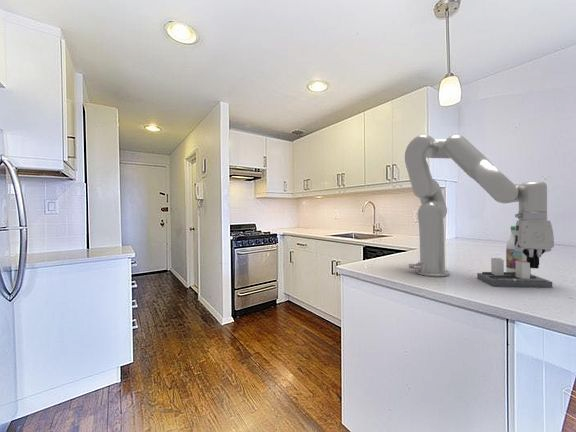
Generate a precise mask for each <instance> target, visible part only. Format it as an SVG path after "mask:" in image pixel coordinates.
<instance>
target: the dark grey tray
mask: <svg viewBox="0 0 576 432" xmlns="http://www.w3.org/2000/svg"><path fill="white" fill-rule="evenodd" d="M476 276H477V277H476V278H477V279H479V280H480V281H483V282H484V283H486V284H488V285H490V286H491V287H498V288H501V287H502V288H503V287H504V288H507V287H508V288H549V289H550V288H553V281H551V280H548V279H545V278H543V277H540V276H536V275H534V274H532V273H531V274H530V279H520V278H517V277H516V272H506V271H504V275H494V274H492V273H491V271H481V272H477V273H476Z"/></svg>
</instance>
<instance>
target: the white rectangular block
mask: <svg viewBox="0 0 576 432" xmlns="http://www.w3.org/2000/svg"><path fill="white" fill-rule="evenodd" d="M504 262H505V260H504V259H502V258H501V257H500V258H499V257H491V260H490V264H491V266H490V272H491V273H492V274H494V275H504V272H505V271H504V270H505V269H504V267H505V266H504Z"/></svg>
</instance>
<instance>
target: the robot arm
mask: <svg viewBox="0 0 576 432" xmlns="http://www.w3.org/2000/svg"><path fill="white" fill-rule="evenodd" d="M404 151H405V152H404V164H405V168H406V170H407V173H408V178H409V182H410V184H411V188H412V189H411V190H412V192H413V194H414V195H415V197H417V198H418V199H419V200H420V203H421V204H420V206H419V207H418V210H417V219H418V221H417V222H418V232H419V234H418V235H419V236H418V237H419V261H417V263H408V269H414V270H416V274H419V275H422V276H426V277H433V278H434V277H436V278H437V277H439V278H440V277H447V276H450V271H449V270H448V269H446V257H445V256H446V255H445V254H446V252H445V224H444V219H445V218H446V217H447V213H448V208H447V204H446V202H445V198H444V196H443V191H442V188H441V186H440V184H439V183H438V181H437V180H435V179H434V178H433V176H432V174H431V170H430V166H429V164H428V162H427V159H450V160H452V161H453V162H454V163H455V164H456V165H457V166H458V167H459V168H460V169H461V170H462V171H463V172H464V173H465V174H466V175H467V176H468V177H469V178H471V179H473V180H474V181H475V182H476V183H477V184H478V185H479V186H480V187H481V188H482V189H483V190H484V191H486V193H487V194H488V195H489V196H490V197H492V199H493V200H494V201H496V202H497V203H499V204H509V203H510V204H511V203H518V213H515V214H514V217H515V218H518V220H516V223H515V225H514V226H515V232H514V245H515V251H519V252H522V253H524V254H525V256H527V262H529V263H530V268H531V269H539V266H540V258H542V255H543V254H544V253H549V252H551V251H552V249H553V248H554V246H555V238H554V237H555V235H554V230H553V225H552V222H551V220H548V186H547V185H548V184H547V183H546V182H545V181H529V182H522V183H514V182H512V180H510V179H509V178H508V177H507V176H506V175H505V174H504V173H502V172H501V171H500V170H499V169H498V167H496V166H495V165H494V164H493V163H492V161H491V160H490V159H488V158H487V157H486V156H485V155H484V154H483V153H482V152H481V151H480V150H479V149H478V148H477V147H475V145H473V144H472V143H471V142H470V141H469V140H468V139H467V137H464V136H463V135H460V134H453V135H450V136H449V137H447V138H445V139H443V138H442V139H441V138H440V139H439V138H437V139H435V138H433V136H430V135H428V134H418V135H417V136H415V137H414V138H413V139H412V140H410V142H409V143H408V145H407V146H406V149H405V150H404ZM521 247H522V248H523V249H522V248H521Z"/></svg>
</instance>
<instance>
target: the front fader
mask: <svg viewBox="0 0 576 432" xmlns="http://www.w3.org/2000/svg"><path fill="white" fill-rule="evenodd" d="M516 277H517V278H520V279H530V263H529V262H527V261H516Z"/></svg>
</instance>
